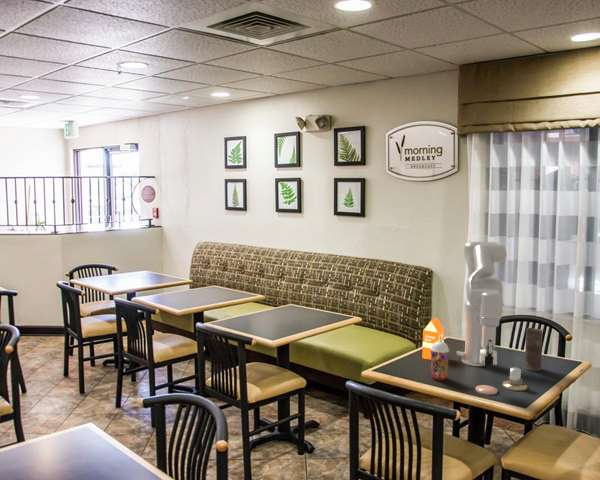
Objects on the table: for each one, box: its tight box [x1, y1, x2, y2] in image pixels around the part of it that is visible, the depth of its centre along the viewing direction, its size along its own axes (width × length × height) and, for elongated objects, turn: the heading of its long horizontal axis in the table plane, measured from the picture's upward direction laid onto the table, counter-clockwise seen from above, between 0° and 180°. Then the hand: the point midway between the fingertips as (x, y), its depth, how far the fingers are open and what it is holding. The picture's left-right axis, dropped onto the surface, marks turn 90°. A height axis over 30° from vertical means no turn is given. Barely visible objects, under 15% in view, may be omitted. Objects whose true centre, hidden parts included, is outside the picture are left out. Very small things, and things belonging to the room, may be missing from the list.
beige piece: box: [502, 366, 528, 392], centre depth 244 cm, size 10×10×8 cm
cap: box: [480, 349, 498, 366], centre depth 237 cm, size 7×7×6 cm
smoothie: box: [430, 335, 451, 381], centre depth 252 cm, size 8×8×20 cm
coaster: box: [475, 384, 499, 396], centre depth 239 cm, size 9×9×1 cm
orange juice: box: [421, 317, 445, 361], centre depth 283 cm, size 8×9×20 cm
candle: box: [524, 327, 543, 372], centre depth 266 cm, size 8×7×20 cm
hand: (487, 362), depth 237 cm, fingers closed on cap, 6 cm apart
